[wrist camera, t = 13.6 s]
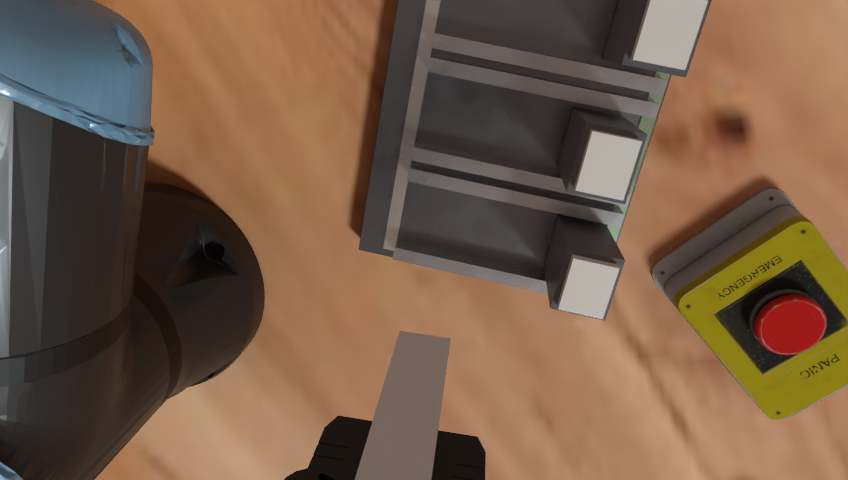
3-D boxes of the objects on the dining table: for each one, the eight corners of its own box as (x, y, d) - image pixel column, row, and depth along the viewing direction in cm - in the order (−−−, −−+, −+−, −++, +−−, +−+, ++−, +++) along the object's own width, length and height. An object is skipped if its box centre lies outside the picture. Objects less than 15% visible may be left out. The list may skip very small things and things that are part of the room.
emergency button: (805, 197, 33) (946, 386, 35) (771, 178, 37) (900, 349, 39) (658, 294, 35) (798, 462, 38) (642, 266, 40) (770, 420, 42)
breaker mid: (556, 166, 36) (567, 194, 30) (573, 106, 35) (587, 123, 28) (606, 177, 36) (627, 207, 29) (624, 117, 34) (650, 136, 28)
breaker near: (602, 58, 34) (624, 65, 27) (621, -10, 32) (649, -19, 26) (655, 69, 33) (689, 78, 27) (676, 1, 32) (717, -6, 26)
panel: (363, 242, 41) (353, 257, 38) (415, -81, 34) (407, -90, 31) (594, 293, 40) (601, 313, 37) (696, -27, 33) (714, -32, 30)
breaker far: (543, 267, 38) (551, 312, 32) (558, 214, 37) (569, 251, 31) (590, 277, 38) (606, 325, 32) (606, 224, 37) (627, 264, 30)
